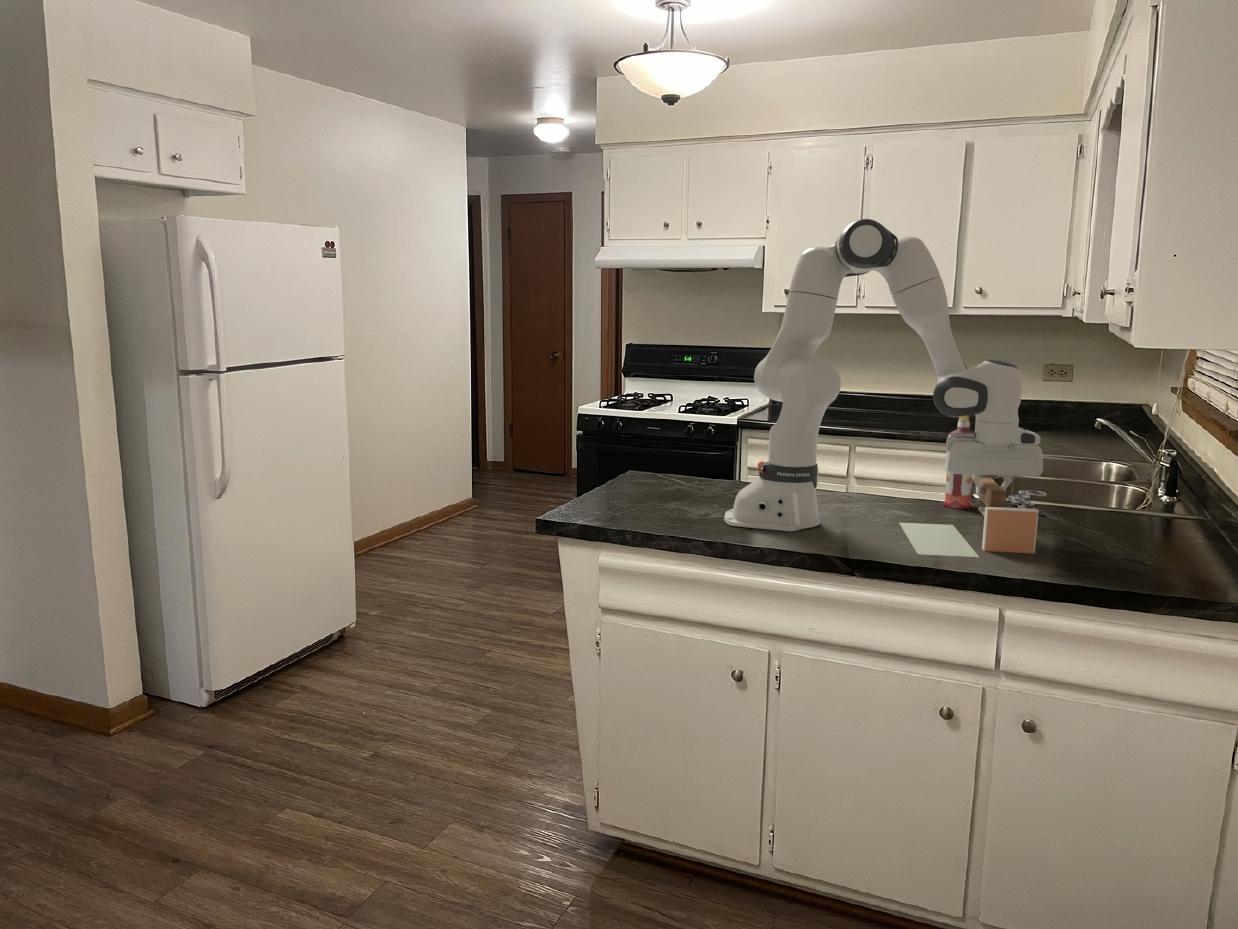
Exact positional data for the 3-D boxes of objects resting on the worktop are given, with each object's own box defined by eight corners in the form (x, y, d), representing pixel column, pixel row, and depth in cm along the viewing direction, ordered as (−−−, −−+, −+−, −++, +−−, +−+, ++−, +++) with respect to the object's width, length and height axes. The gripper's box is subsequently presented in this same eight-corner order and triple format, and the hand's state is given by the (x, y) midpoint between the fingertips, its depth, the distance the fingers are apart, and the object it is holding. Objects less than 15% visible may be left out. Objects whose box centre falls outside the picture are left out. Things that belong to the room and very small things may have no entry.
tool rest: (917, 558, 183) (917, 554, 182) (898, 526, 208) (899, 522, 208) (979, 561, 181) (979, 557, 181) (952, 529, 206) (952, 525, 206)
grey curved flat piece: (1047, 513, 218) (1003, 506, 222) (1046, 520, 218) (1002, 512, 222) (1052, 492, 242) (1012, 486, 247) (1051, 498, 243) (1011, 492, 247)
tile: (983, 555, 185) (987, 508, 183) (981, 553, 187) (985, 506, 185) (1034, 558, 184) (1038, 510, 182) (1031, 555, 185) (1036, 508, 184)
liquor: (970, 514, 220) (979, 401, 214) (939, 511, 223) (947, 399, 218) (974, 508, 226) (983, 398, 221) (944, 505, 229) (952, 396, 224)
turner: (964, 493, 208) (965, 476, 207) (1000, 494, 207) (1002, 477, 206) (987, 520, 187) (989, 501, 186) (1027, 521, 186) (1029, 503, 185)
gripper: (949, 434, 196) (945, 495, 199) (1048, 437, 193) (1042, 499, 196) (944, 430, 203) (939, 489, 205) (1039, 432, 200) (1033, 493, 202)
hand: (990, 494), depth 201 cm, fingers closed on turner, 3 cm apart
